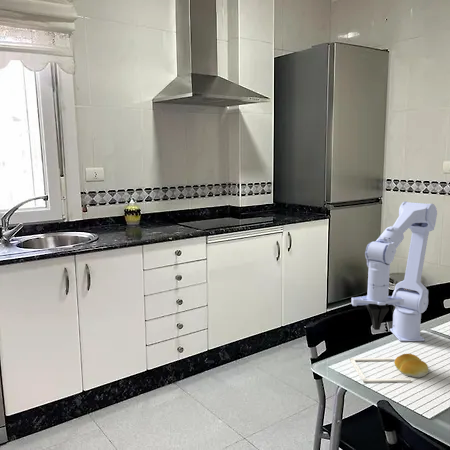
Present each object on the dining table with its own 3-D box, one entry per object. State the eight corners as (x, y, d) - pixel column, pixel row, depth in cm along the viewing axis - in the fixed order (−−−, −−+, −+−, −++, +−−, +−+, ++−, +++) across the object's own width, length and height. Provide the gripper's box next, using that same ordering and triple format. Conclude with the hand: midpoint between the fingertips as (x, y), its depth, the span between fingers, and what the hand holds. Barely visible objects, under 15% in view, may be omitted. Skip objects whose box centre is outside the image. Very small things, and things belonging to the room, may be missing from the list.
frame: (349, 359, 133) (349, 358, 133) (392, 359, 133) (392, 357, 133) (363, 382, 120) (363, 380, 120) (410, 381, 120) (410, 380, 120)
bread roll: (407, 380, 122) (408, 366, 121) (389, 364, 130) (390, 351, 130) (435, 377, 123) (436, 363, 122) (416, 361, 132) (417, 349, 131)
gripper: (357, 288, 125) (355, 334, 128) (409, 287, 126) (406, 333, 128) (349, 280, 132) (348, 324, 135) (399, 280, 132) (396, 323, 135)
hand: (376, 328), depth 132 cm, fingers closed
